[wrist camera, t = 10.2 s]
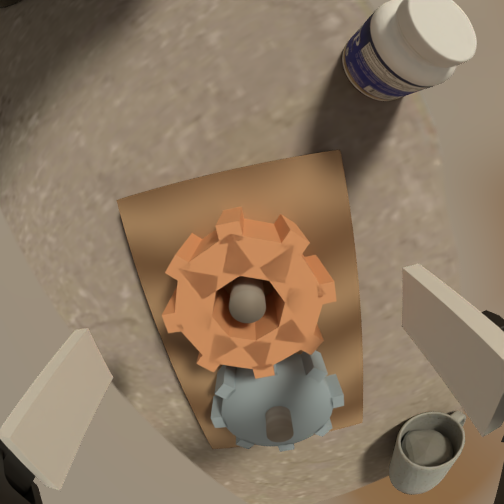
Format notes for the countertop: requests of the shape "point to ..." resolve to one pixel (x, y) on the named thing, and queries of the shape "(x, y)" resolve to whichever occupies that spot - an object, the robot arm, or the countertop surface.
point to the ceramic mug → (426, 450)
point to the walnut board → (261, 203)
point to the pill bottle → (408, 47)
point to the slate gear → (276, 400)
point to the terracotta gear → (254, 266)
